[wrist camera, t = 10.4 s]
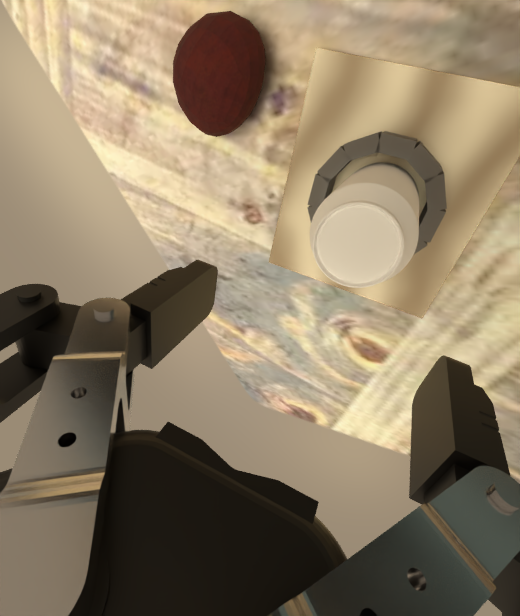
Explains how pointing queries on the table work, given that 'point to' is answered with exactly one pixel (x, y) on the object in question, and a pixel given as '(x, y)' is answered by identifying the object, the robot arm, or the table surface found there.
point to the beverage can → (367, 226)
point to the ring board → (399, 160)
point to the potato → (219, 72)
